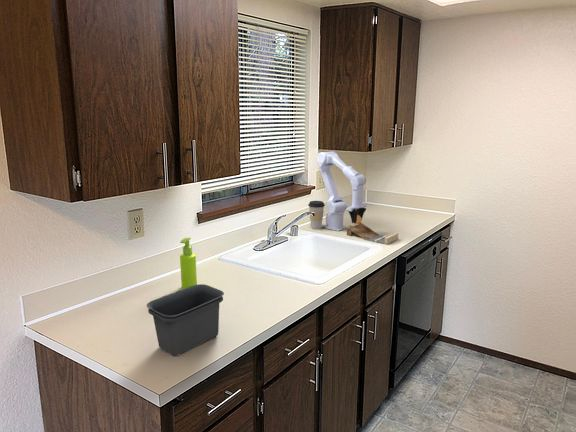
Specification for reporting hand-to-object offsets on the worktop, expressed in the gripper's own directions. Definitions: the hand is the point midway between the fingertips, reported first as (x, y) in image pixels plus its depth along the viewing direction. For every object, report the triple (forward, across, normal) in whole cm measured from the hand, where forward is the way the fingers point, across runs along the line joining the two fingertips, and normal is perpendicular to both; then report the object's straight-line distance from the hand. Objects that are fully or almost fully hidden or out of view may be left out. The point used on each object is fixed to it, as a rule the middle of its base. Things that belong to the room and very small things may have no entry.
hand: (356, 221), depth 252 cm
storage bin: (+7, -132, -24) cm, 134 cm away
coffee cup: (+7, -4, +24) cm, 26 cm away
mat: (+7, 0, -15) cm, 17 cm away
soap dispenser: (+7, -106, +8) cm, 107 cm away
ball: (-1, 0, 0) cm, 1 cm away
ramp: (+8, 0, -4) cm, 9 cm away
